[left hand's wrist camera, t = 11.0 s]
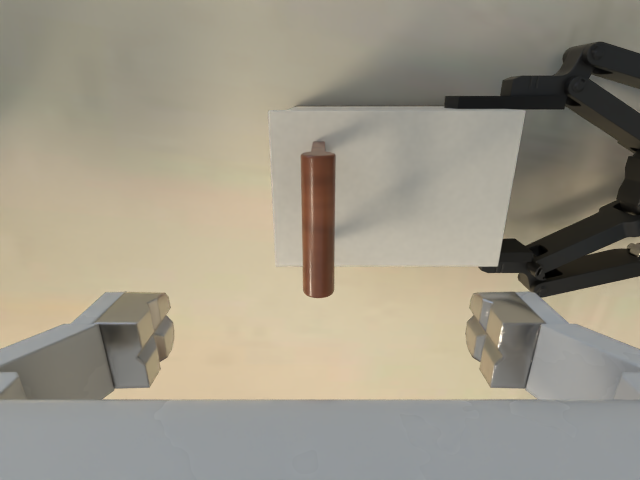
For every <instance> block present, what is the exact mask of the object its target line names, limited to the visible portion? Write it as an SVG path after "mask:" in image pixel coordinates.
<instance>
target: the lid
mask: <svg viewBox="0 0 640 480" xmlns="http://www.w3.org/2000/svg"><path fill="white" fill-rule="evenodd" d="M525 113H526V110H270V111H268V120H269V140H270V161H271V182H272V203H273V224H274V245H275V266H276V267H303V291H304V293H305V294H306V295H307V296H309V297H313V298H324V297H328V296H330V295H331V294H332V293H333V292H334V267H497V266H498V263H499V257H500V252H501V246H502V241H503V235H504V229H505V224H506V218H507V213H508V207H509V202H510V196H511V191H512V185H513V180H514V174H515V169H516V163H517V157H518V152H519V146H520V141H521V135H522V130H523V124H524V119H525Z"/></svg>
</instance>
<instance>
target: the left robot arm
mask: <svg viewBox="0 0 640 480" xmlns="http://www.w3.org/2000/svg"><path fill="white" fill-rule="evenodd" d="M170 308H171V307H170V302H169V297H168V296H167V294H166V293H155V292H105V293H104V294H103V295H102V296H101V297H100V298H99V299H98V300H96V301H95V302H94V303H93V304H92V305H91V306H90V307H89V308H88V309H86V310H85V311H84V312H83V313H82V314H81V315H80V316H79V317H78V318H76V319H75V320H74V321H73V322H72V323H71V324H63V325H60V326H58V327H55V328H53V329H50V330H47V331H45V332H42V333H40V334H37V335H35V336H32V337H30V338H27V339H25V340H22V341H20V342H17V343H15V344H12V345H10V346H7V347H5V348H2V349H0V480H640V349H638V348H635V347H633V346H630V345H628V344H625V343H623V342H620V341H618V340H615V339H613V338H610V337H608V336H605V335H603V334H600V333H597V332H595V331H592V330H590V329H587V328H585V327H582V326H580V325H577V324H569V323H568V322H567V321H566V320H565V319H564V318H563V317H561V316H560V315H559V314H558V313H557V312H556V311H555V310H554V309H553V308H551V307H550V306H549V305H548V304H547V303H546V302H545V301H544V300H543V299H541V298H540V297H539V296H538V295H537V294H536V293H534V292H488V293H474V294H473V295H472V298H471V301H470V307H469V308H470V310H471V311H472V313H473V314H474V315H473V316H472V318H471V319H470V320H469V321H468V322H467V326H466V343H467V346H468V350H469V352H470V354H471V355H472V357H473V358H474V359H476V360H478V361H479V362H480V368H479V369H480V371H481V373H482V374H483V376H484V378H485V379H486V381H487V383H488V384H489V386H490V388H526V391H528V392H529V393H530V394H532V395H533V396H534V397H536V398H537V399H533V400H102V399H103V398H104V397H106V396H107V395H109V394H110V393H111V392H113V391H114V388H150V386H151V384H152V383H153V381H154V379H155V378H156V376H157V374H158V373H159V371H160V369H161V368H160V362H161V361H162V360H164V359H166V358H167V357H168V355H169V354H170V352H171V350H172V346H173V342H174V325H173V322H172V321H171V320H170V319H169V318H168V316H167V315H166V314H167V313H168V311H169V310H170Z"/></svg>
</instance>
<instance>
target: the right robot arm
mask: <svg viewBox="0 0 640 480" xmlns="http://www.w3.org/2000/svg"><path fill="white" fill-rule="evenodd" d="M591 74H592V75H595V76H599V77H602V78H605V79H609V80H612V81H615V82H618V83H622V84H625V85H628V86H632V87H635V88H638V89H640V54H639V53H636V52H633V51H630V50H627V49H623V48H620V47H617V46H614V45H611V44H607V43H604V42H595V43H590V44H585V45H580V46H575V47H571V48H569V49H568V50H566V52H565V53H564V55H563V65H562V67H561V68H560V70H559V71H558V72H557V73H556V74H555V75H553V76H515V77H510V78H507V79H505V80H503V82H502V88H501V95H500V96H445V105H444V108H452V109H564V108H565V106H566V107H567V108H569V109H571V110H572V111H574V112H575V113H577V114H578V115H580V116H581V117H583V118H584V119H586V120H587V121H589V122H591V123H592V124H594V125H595V126H597V127H598V128H600V129H601V130H603V131H604V132H606V133H607V134H609V135H610V136H612V137H614V138H615V139H617V140H618V143H619V144H620V145H622V146H623V147H625V148H626V149H628V150H630V151H631V152H633V153H634V155H633V156H628V159H627V163H626V167H625V179H624V181H623V183H622V185H621V187H620V188H619V191H618V195H617V198H616V199H617V200H616V201H614V202H612V203H610V204H607V205H605V206H603V207H601V208H600V209H599V212H598V213H596V214H594V215H592V216H590V217H588V218H586V219H583V220H581V221H579V222H577V223H575V224H572V225H570V226H568V227H566V228H564V229H561V230H559V231H557V232H555V233H553V234H550V235H548V236H546V237H544V238H542V239H540V240H537V241H535V242H533V243H531V244H529V245H526V246H524V245H523V244H521V243H520V242H519V241H517V240H516V239H503V241H502V246H501V252H500V257H499V263H498V266H497V267H479V268H480V270H482V271H484V272H487V273H519V274H518V280H519V281H520V282H521V283H522V284H523V285H524V286H525V287H526V288H527V289H529V290H530V291H531V292H534V293H536V294H537V295H538V296H539V297H540V298H541V297H547V296H551V295H556V294H560V293H565V292H570V291H574V290H579V289H583V288H588V287H592V286H597V285H601V284H606V283H610V282H615V281H620V280H624V279H629V278H633V277H638V276H640V243H637V244H633V243H631V244H629V245H628V246H627V249H613V250H607V251H603V252H599V253H594V254H590V255H587V254H589V253H592V252H594V251H596V250H599V249H601V248H603V247H605V246H608V245H610V244H612V243H614V242H617V241H619V240H621V239H624V238H626V237H639V236H640V113H638V112H637V111H636V110H634V109H633V108H631V107H630V106H628V105H627V104H625V103H624V102H622V101H621V100H619V99H618V98H616V97H615V96H613V95H612V94H610V93H609V92H607V91H606V90H604V89H603V88H602V87H600V86H599V85H597V84H596V83H594V82H593V81H591V80H590V79H589V77H590V76H591Z"/></svg>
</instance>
